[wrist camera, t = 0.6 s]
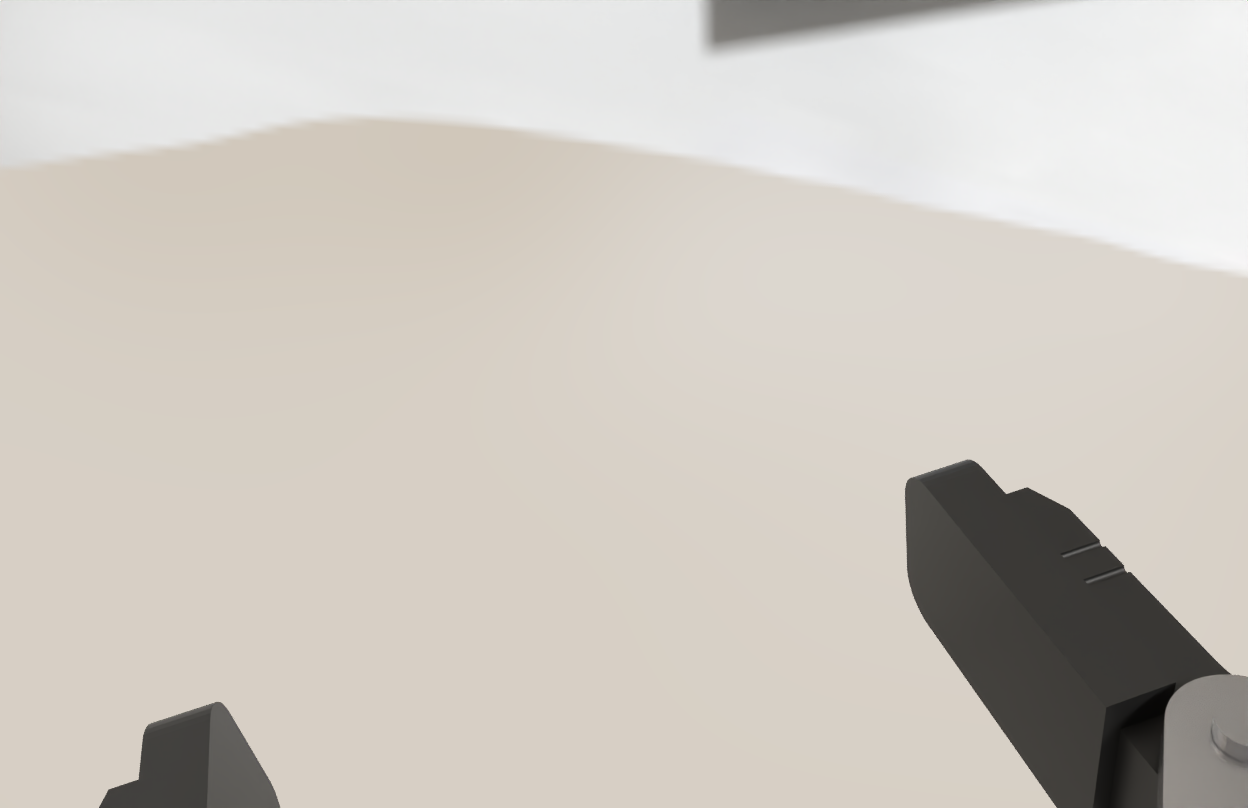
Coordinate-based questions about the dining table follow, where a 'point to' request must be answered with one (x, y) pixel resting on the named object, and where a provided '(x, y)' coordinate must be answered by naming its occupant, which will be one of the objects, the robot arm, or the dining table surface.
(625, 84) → the dining table surface
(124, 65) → the dining table surface
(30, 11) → the dining table surface
